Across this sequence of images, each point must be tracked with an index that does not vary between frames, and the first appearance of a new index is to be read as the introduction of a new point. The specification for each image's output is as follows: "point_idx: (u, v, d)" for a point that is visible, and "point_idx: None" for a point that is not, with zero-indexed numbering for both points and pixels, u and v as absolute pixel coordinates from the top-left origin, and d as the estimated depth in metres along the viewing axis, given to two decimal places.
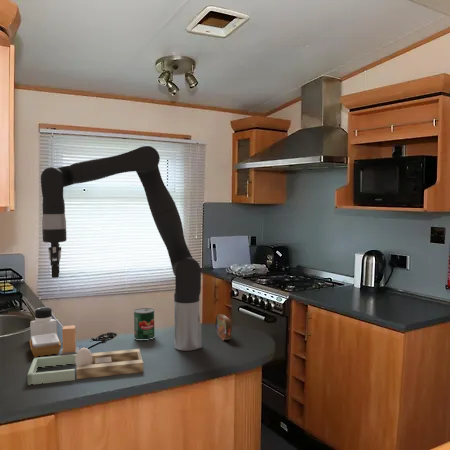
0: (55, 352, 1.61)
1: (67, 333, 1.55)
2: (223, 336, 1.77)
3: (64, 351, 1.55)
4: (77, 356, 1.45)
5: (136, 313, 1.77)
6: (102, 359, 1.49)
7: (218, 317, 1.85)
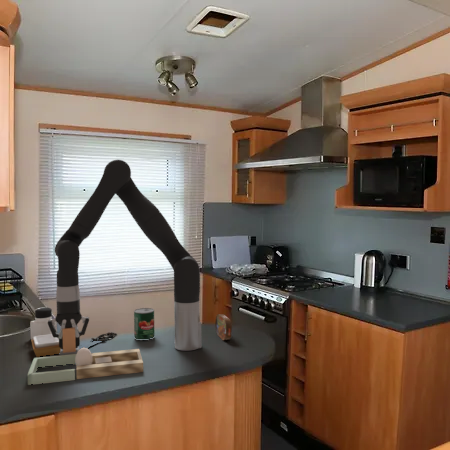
0: (57, 352, 1.61)
1: (67, 333, 1.55)
2: (223, 336, 1.77)
3: (64, 351, 1.55)
4: (77, 356, 1.45)
5: (136, 313, 1.77)
6: (102, 359, 1.49)
7: (218, 317, 1.85)
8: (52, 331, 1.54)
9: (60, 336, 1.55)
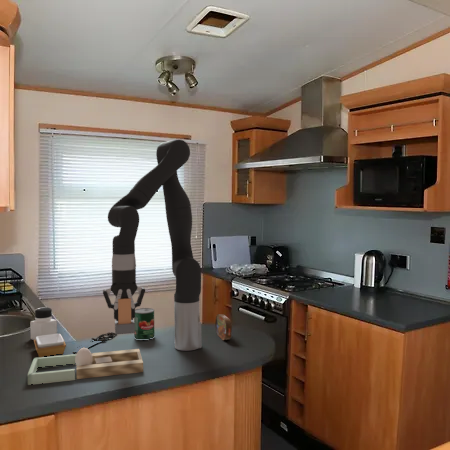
0: (60, 352, 1.61)
1: (123, 303, 1.47)
2: (223, 336, 1.77)
3: (120, 322, 1.47)
4: (77, 356, 1.45)
5: (136, 313, 1.77)
6: (102, 359, 1.49)
7: (218, 317, 1.85)
8: (107, 301, 1.47)
9: (115, 307, 1.47)
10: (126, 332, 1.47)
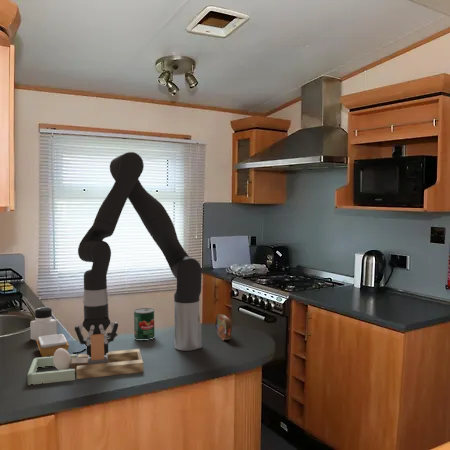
0: None
1: (95, 339, 1.45)
2: (223, 336, 1.77)
3: (92, 359, 1.45)
4: (54, 358, 1.43)
5: (136, 313, 1.77)
6: (79, 359, 1.47)
7: (218, 317, 1.85)
8: (79, 337, 1.45)
9: (88, 343, 1.45)
10: None
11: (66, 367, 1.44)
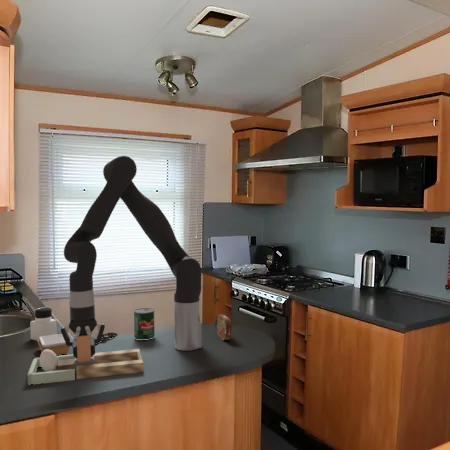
0: (64, 352, 1.61)
1: (82, 341, 1.44)
2: (223, 336, 1.77)
3: (79, 360, 1.44)
4: (40, 359, 1.42)
5: (136, 313, 1.77)
6: (65, 361, 1.46)
7: (218, 317, 1.85)
8: (65, 339, 1.44)
9: (74, 344, 1.44)
10: None
11: (52, 368, 1.43)
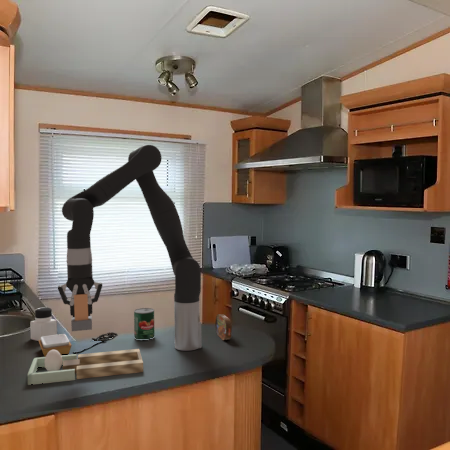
0: (66, 352, 1.61)
1: (79, 299, 1.43)
2: (223, 336, 1.77)
3: (76, 319, 1.43)
4: (46, 358, 1.43)
5: (136, 313, 1.77)
6: (70, 361, 1.47)
7: (218, 317, 1.85)
8: (63, 297, 1.43)
9: (71, 303, 1.43)
10: (83, 329, 1.43)
11: (55, 370, 1.43)
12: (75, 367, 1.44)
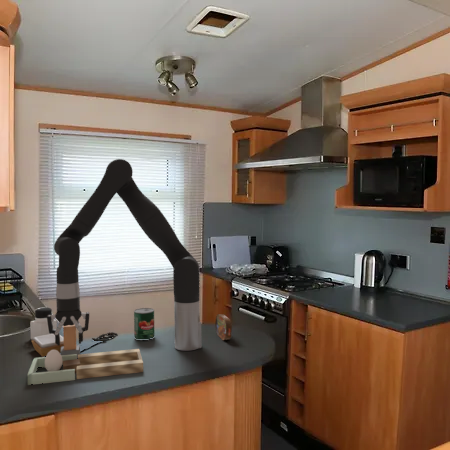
0: None
1: (68, 331, 1.57)
2: (223, 336, 1.77)
3: (65, 349, 1.57)
4: (46, 358, 1.43)
5: (136, 313, 1.77)
6: (70, 362, 1.47)
7: (218, 317, 1.85)
8: (49, 327, 1.54)
9: (56, 332, 1.55)
10: None
11: (55, 370, 1.43)
12: (76, 367, 1.44)
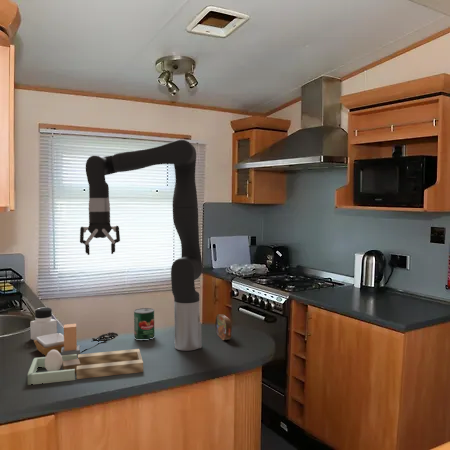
0: None
1: (68, 331, 1.57)
2: (223, 336, 1.77)
3: (65, 349, 1.57)
4: (46, 358, 1.43)
5: (136, 313, 1.77)
6: (70, 362, 1.47)
7: (218, 317, 1.85)
8: (81, 236, 1.67)
9: (86, 242, 1.68)
10: None
11: (55, 370, 1.43)
12: (76, 367, 1.44)
